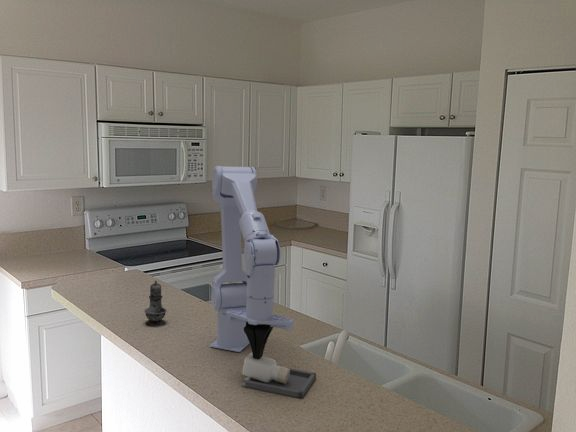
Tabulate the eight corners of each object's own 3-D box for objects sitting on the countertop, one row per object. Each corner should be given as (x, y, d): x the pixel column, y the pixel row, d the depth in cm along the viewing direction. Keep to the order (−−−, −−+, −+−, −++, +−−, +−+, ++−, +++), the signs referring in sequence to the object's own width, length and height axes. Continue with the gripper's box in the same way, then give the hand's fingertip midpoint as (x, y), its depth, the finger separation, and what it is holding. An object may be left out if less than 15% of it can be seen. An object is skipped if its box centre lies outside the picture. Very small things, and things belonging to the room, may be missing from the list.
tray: (259, 367, 120) (259, 362, 120) (315, 378, 116) (316, 373, 115) (241, 386, 110) (241, 380, 110) (301, 398, 106) (302, 393, 106)
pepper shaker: (247, 367, 117) (288, 381, 114) (240, 375, 113) (282, 389, 110) (250, 351, 116) (291, 364, 113) (243, 358, 112) (286, 371, 109)
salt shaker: (143, 320, 147) (143, 277, 145) (165, 318, 148) (166, 277, 147) (144, 327, 141) (145, 283, 139) (167, 326, 143) (168, 282, 141)
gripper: (220, 295, 110) (218, 358, 112) (286, 305, 105) (283, 370, 107) (234, 287, 117) (232, 346, 118) (297, 296, 112) (294, 357, 114)
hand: (257, 357), depth 113 cm, fingers closed
